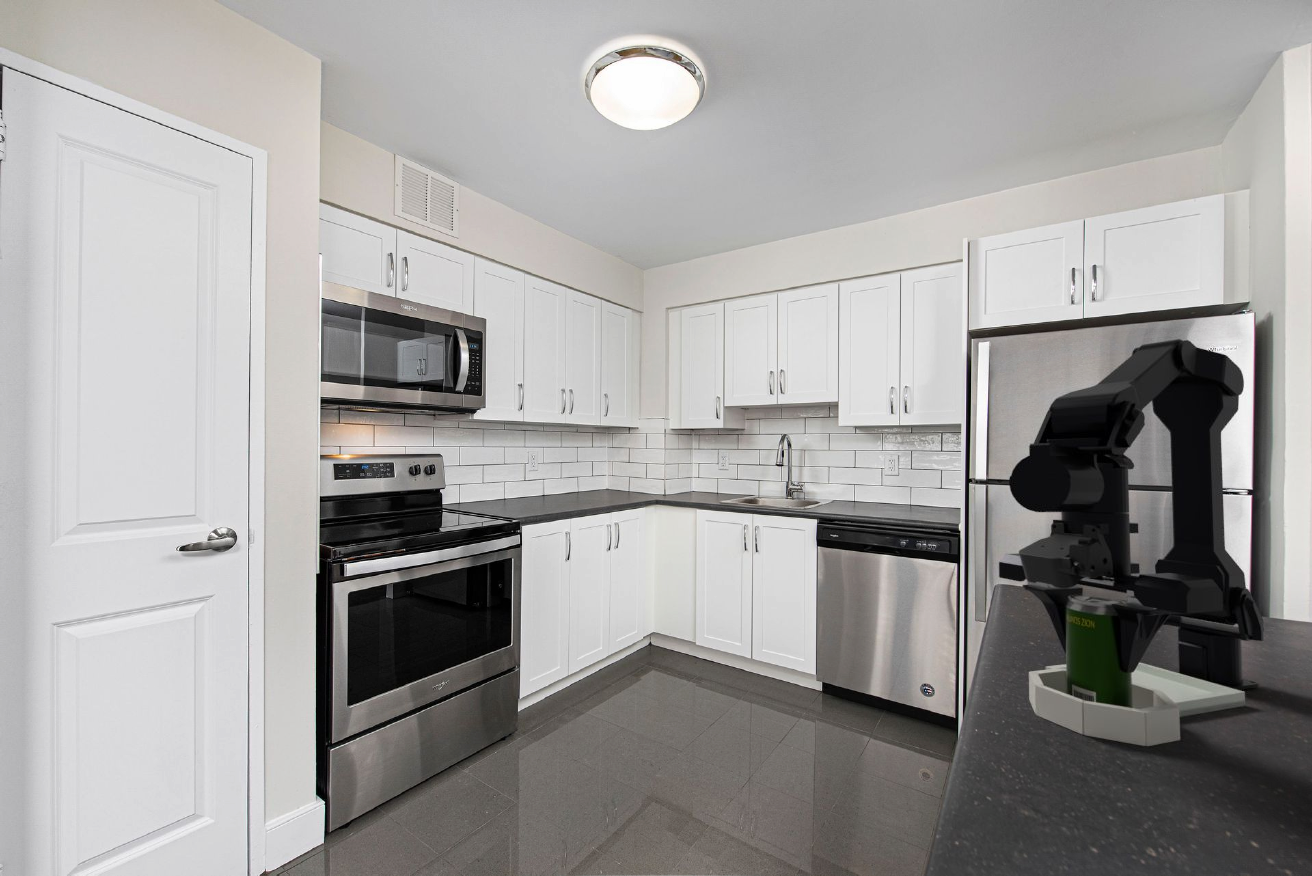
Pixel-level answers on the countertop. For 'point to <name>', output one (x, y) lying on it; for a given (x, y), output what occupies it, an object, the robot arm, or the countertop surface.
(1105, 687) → the beer can
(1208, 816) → the countertop surface
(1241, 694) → the tray
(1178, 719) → the cup
